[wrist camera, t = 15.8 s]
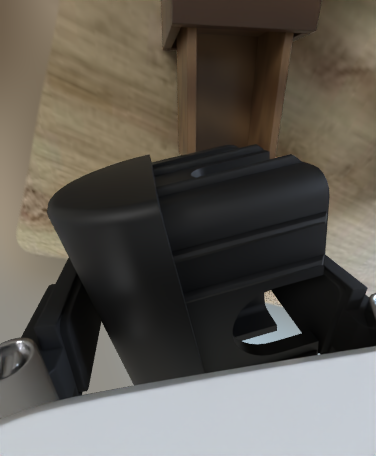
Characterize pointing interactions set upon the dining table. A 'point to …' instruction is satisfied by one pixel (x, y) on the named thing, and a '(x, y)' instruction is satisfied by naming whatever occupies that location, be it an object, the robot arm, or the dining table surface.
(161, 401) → the robot arm
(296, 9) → the cabinet
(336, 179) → the dining table surface
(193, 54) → the drawer
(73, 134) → the dining table surface
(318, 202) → the end cap
